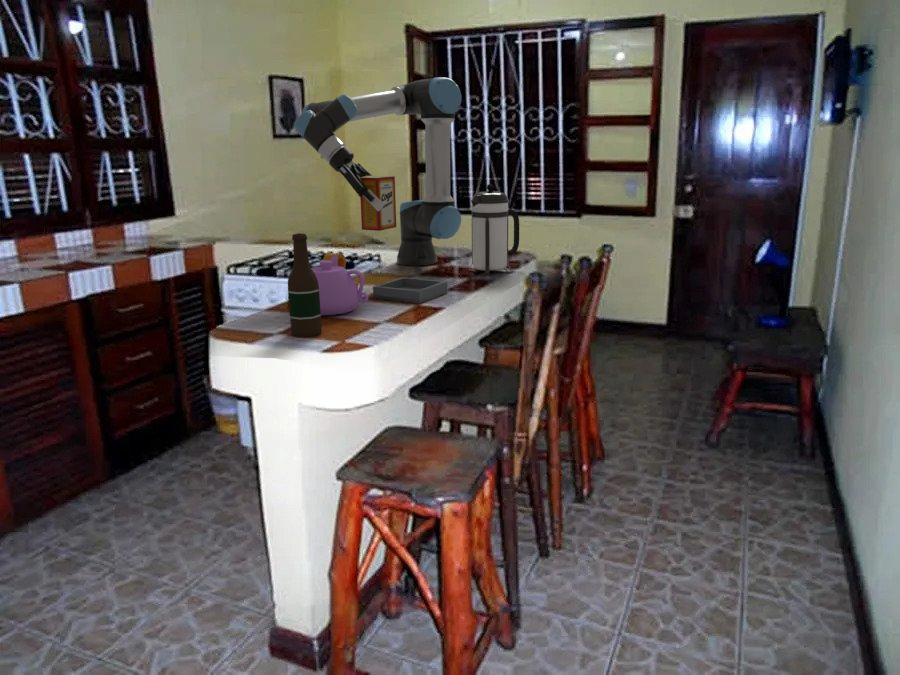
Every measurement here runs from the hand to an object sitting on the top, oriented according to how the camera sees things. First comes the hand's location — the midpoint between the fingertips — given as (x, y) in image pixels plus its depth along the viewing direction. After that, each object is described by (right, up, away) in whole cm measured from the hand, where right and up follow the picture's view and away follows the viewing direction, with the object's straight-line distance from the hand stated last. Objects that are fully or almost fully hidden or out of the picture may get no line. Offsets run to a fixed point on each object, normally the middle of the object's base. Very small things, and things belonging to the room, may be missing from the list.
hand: (387, 206), depth 214 cm
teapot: (-14, -33, -21) cm, 41 cm away
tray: (+8, -28, -6) cm, 29 cm away
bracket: (-15, -27, -1) cm, 31 cm away
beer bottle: (-15, -40, -46) cm, 62 cm away
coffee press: (+34, -17, +30) cm, 48 cm away
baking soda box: (-3, -7, +3) cm, 8 cm away
